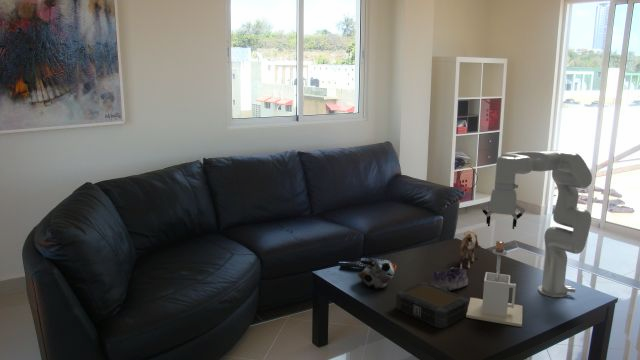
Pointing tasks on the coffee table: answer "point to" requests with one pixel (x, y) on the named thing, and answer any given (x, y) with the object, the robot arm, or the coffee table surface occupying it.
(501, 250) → the plunger
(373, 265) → the lucky cat figurine
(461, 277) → the geode
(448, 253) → the coffee table surface
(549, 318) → the coffee table surface
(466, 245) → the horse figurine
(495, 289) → the square white mug
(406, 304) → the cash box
